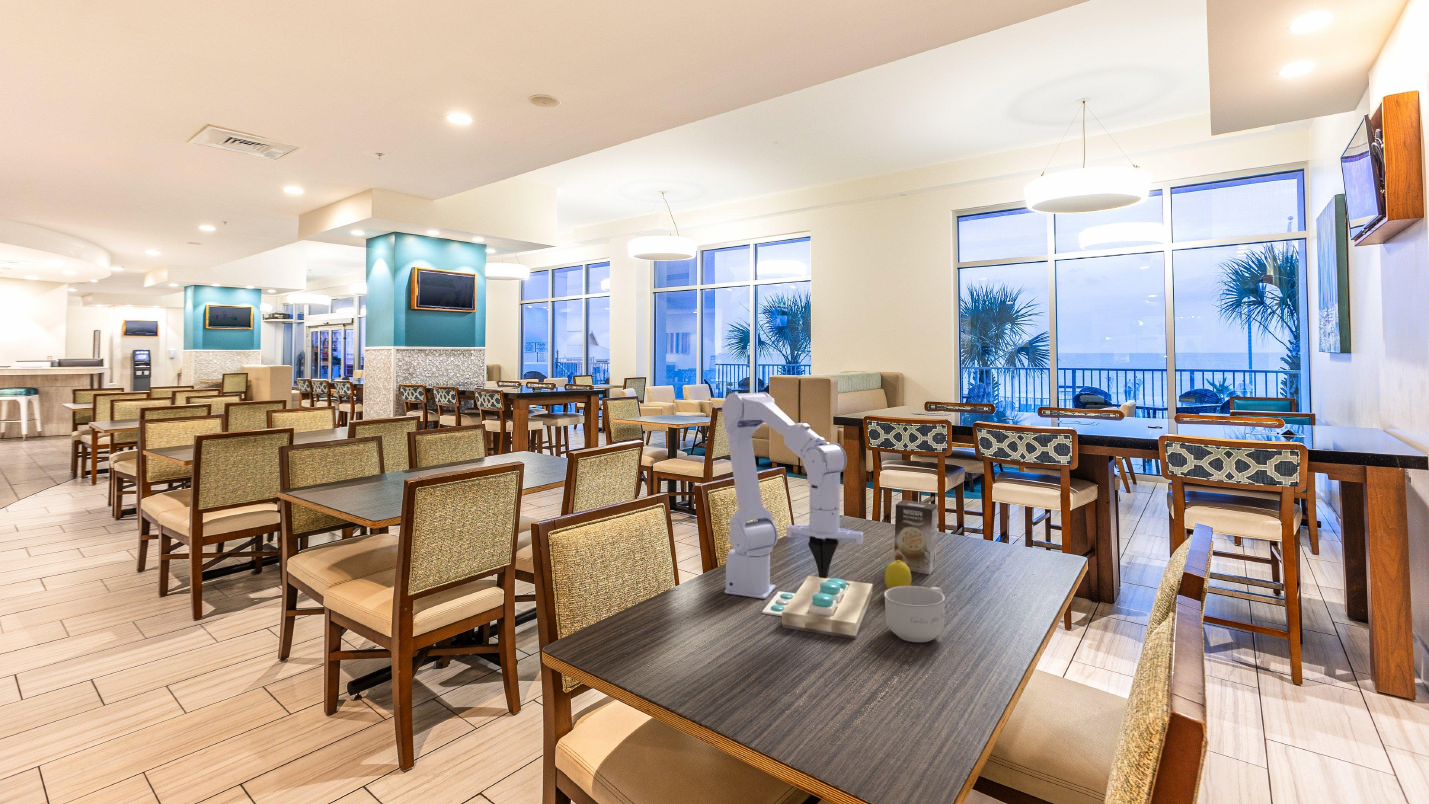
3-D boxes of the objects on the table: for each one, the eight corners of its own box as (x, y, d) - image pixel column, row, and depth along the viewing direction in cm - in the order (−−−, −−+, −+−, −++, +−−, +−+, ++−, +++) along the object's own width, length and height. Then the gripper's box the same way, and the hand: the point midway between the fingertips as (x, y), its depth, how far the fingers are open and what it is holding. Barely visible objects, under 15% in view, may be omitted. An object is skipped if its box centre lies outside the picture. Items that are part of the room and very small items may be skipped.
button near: (808, 615, 120) (808, 599, 120) (813, 607, 125) (814, 591, 124) (831, 619, 119) (831, 602, 119) (836, 610, 123) (836, 594, 123)
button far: (824, 598, 134) (824, 583, 133) (828, 591, 138) (828, 577, 137) (844, 601, 132) (845, 586, 132) (848, 594, 136) (848, 579, 136)
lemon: (912, 601, 134) (913, 564, 133) (885, 599, 135) (886, 563, 134) (909, 592, 139) (910, 556, 138) (883, 590, 140) (884, 555, 140)
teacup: (913, 653, 110) (914, 609, 109) (871, 630, 120) (871, 589, 119) (969, 637, 116) (970, 595, 116) (924, 616, 126) (925, 577, 125)
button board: (781, 627, 121) (781, 611, 121) (808, 588, 141) (808, 575, 141) (855, 639, 116) (855, 623, 115) (872, 597, 136) (872, 583, 136)
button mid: (816, 602, 127) (817, 587, 127) (821, 595, 131) (821, 580, 131) (838, 605, 125) (838, 590, 125) (842, 598, 129) (842, 583, 129)
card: (762, 613, 127) (762, 610, 127) (778, 593, 139) (778, 590, 138) (786, 616, 126) (786, 614, 126) (800, 596, 137) (801, 593, 137)
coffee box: (892, 568, 155) (893, 504, 154) (899, 561, 161) (901, 499, 160) (930, 575, 150) (932, 508, 149) (937, 567, 156) (938, 503, 155)
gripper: (782, 508, 120) (781, 578, 120) (859, 515, 114) (858, 588, 115) (791, 500, 126) (791, 567, 127) (865, 506, 121) (864, 576, 122)
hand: (823, 576), depth 121 cm, fingers closed
